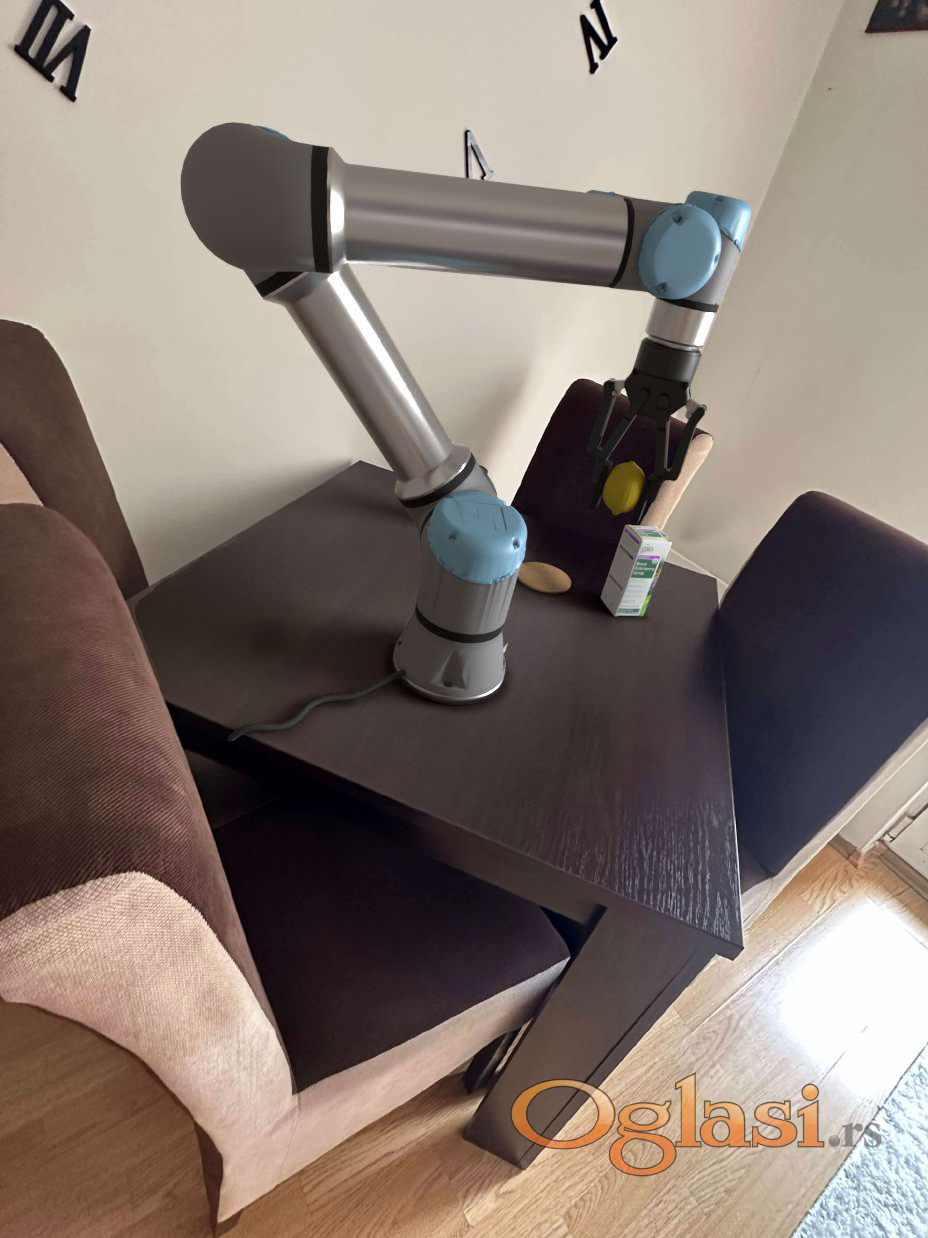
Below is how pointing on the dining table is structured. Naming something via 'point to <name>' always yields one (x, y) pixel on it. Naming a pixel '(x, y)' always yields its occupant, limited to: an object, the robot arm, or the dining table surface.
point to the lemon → (623, 487)
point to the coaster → (543, 578)
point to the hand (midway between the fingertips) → (615, 512)
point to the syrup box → (635, 570)
